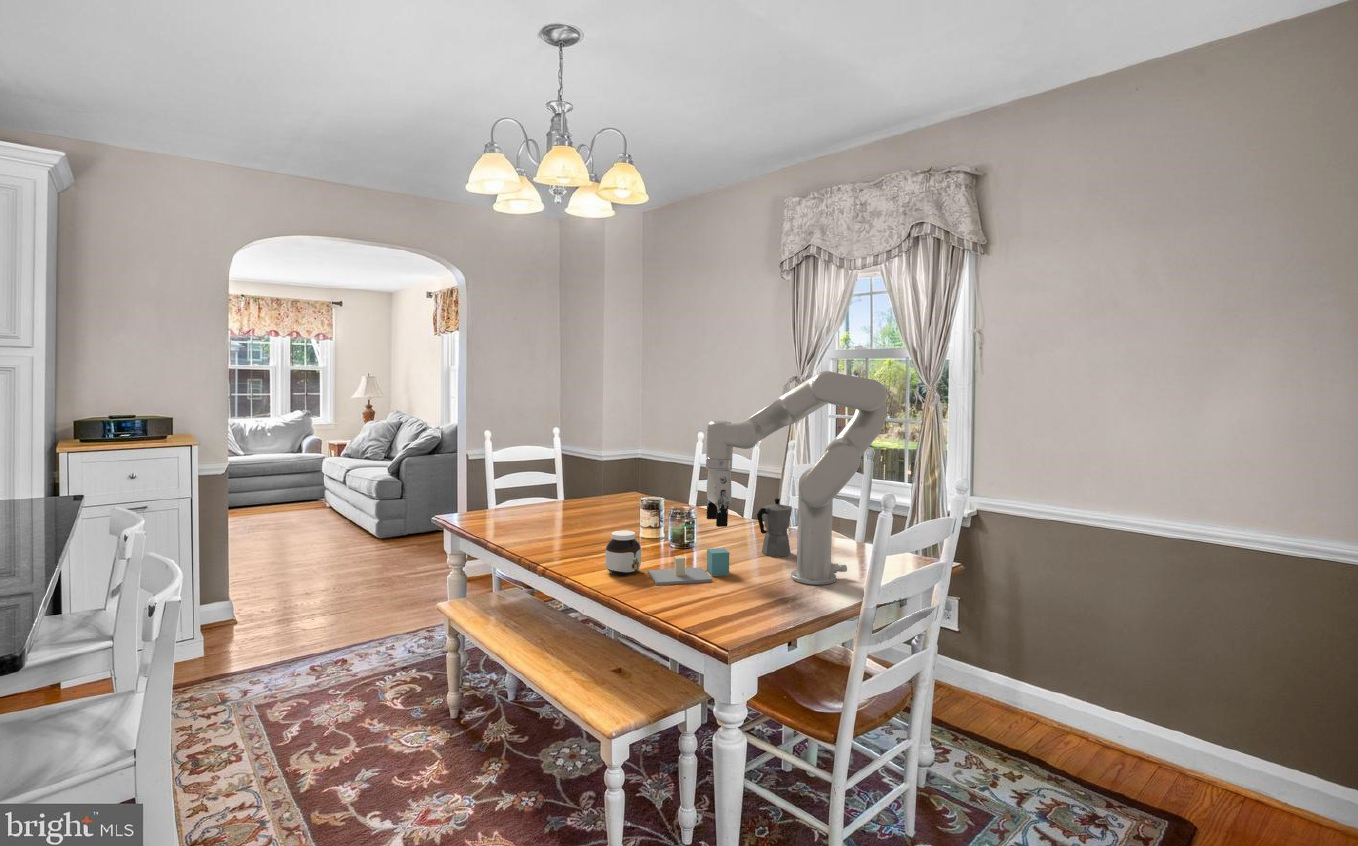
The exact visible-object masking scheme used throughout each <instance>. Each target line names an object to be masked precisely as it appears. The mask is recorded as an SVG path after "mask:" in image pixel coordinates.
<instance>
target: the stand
mask: <svg viewBox="0 0 1358 846" xmlns="http://www.w3.org/2000/svg"><path fill="white" fill-rule="evenodd" d="M647 574H648V576H649V577H650V579H651V580H652V581H653V583H654V585H656V586H665V585H666V586H667V585H681V584H682V585H683V584H700V583H712V582H713V578H712V576H711V575H710V574H709V573H708V572H707V571H705V570H704V568H702V567H697V566H696V567H686V558H685V556H684V555H675V556H673V568H666V569H665V568H663V569H649V570H647Z"/></svg>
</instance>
